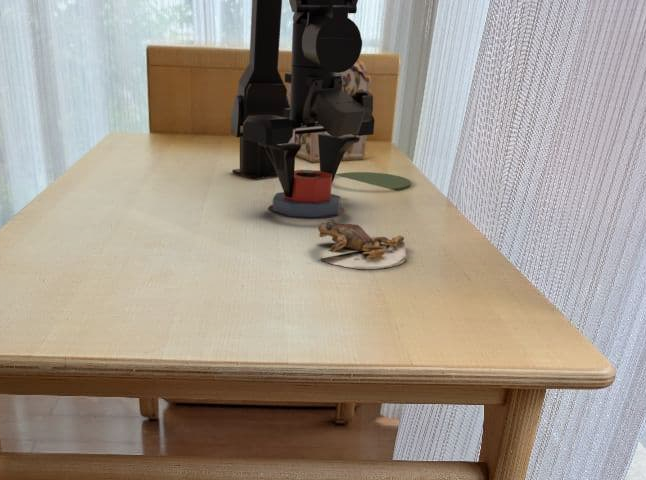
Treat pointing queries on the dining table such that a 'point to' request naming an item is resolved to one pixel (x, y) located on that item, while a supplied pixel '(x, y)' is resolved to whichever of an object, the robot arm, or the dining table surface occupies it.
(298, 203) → the bottom ring
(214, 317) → the dining table surface
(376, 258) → the frog figurine
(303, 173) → the stacker
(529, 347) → the dining table surface
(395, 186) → the mat
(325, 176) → the top ring
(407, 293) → the dining table surface
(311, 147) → the decorative jar
